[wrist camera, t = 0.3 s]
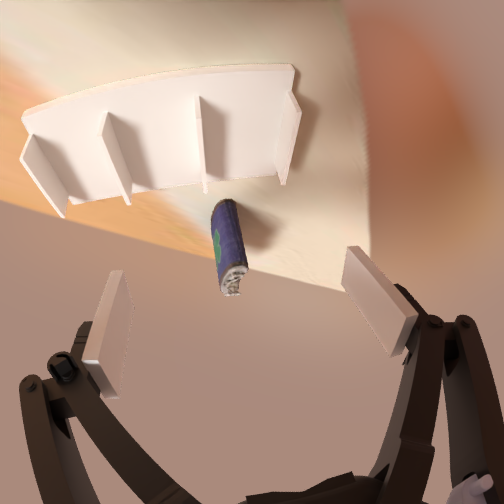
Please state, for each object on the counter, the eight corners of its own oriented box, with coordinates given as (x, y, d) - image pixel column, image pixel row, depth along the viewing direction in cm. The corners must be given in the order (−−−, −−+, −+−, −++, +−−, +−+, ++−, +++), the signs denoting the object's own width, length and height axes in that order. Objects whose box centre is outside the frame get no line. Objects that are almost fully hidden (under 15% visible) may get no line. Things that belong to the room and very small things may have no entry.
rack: (25, 110, 17) (8, 142, 16) (290, 63, 20) (307, 90, 19) (74, 196, 29) (69, 228, 27) (273, 167, 32) (282, 197, 30)
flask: (227, 235, 44) (239, 306, 40) (207, 237, 43) (217, 308, 39) (238, 197, 36) (254, 280, 32) (214, 198, 35) (226, 282, 31)
